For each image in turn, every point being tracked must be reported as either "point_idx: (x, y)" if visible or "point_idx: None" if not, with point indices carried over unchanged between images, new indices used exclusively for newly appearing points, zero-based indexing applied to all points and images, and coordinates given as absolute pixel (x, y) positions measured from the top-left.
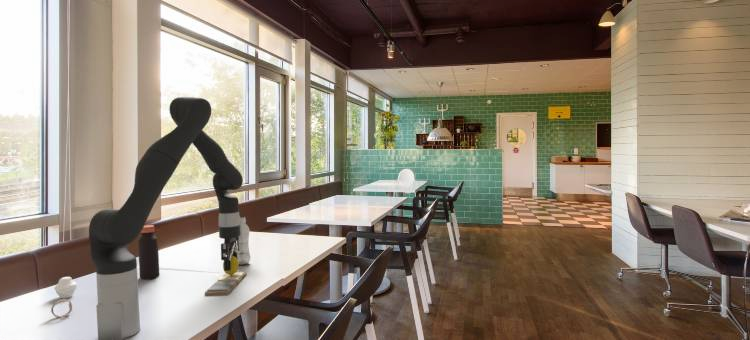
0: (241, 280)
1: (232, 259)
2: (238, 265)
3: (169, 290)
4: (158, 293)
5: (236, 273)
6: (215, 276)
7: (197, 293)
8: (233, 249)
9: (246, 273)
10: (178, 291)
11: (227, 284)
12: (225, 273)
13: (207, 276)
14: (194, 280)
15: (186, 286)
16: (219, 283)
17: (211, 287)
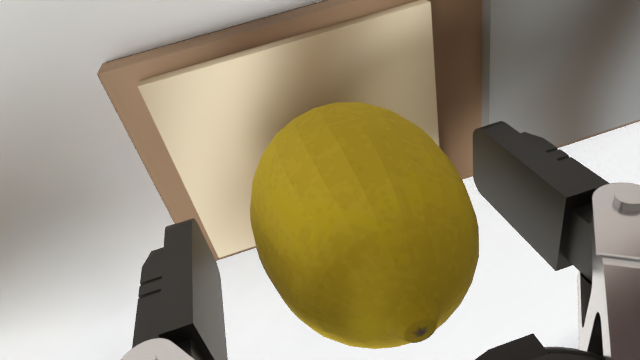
0: (321, 2)
1: (460, 219)
2: (328, 122)
3: None
4: (556, 346)
5: (222, 145)
6: (233, 307)
7: (612, 170)
8: (622, 352)
9: (101, 69)
10: (546, 291)
11: (595, 10)
12: (245, 247)
13: (246, 350)
14: (345, 355)
15: (462, 315)
16: (546, 109)
17: (637, 109)
